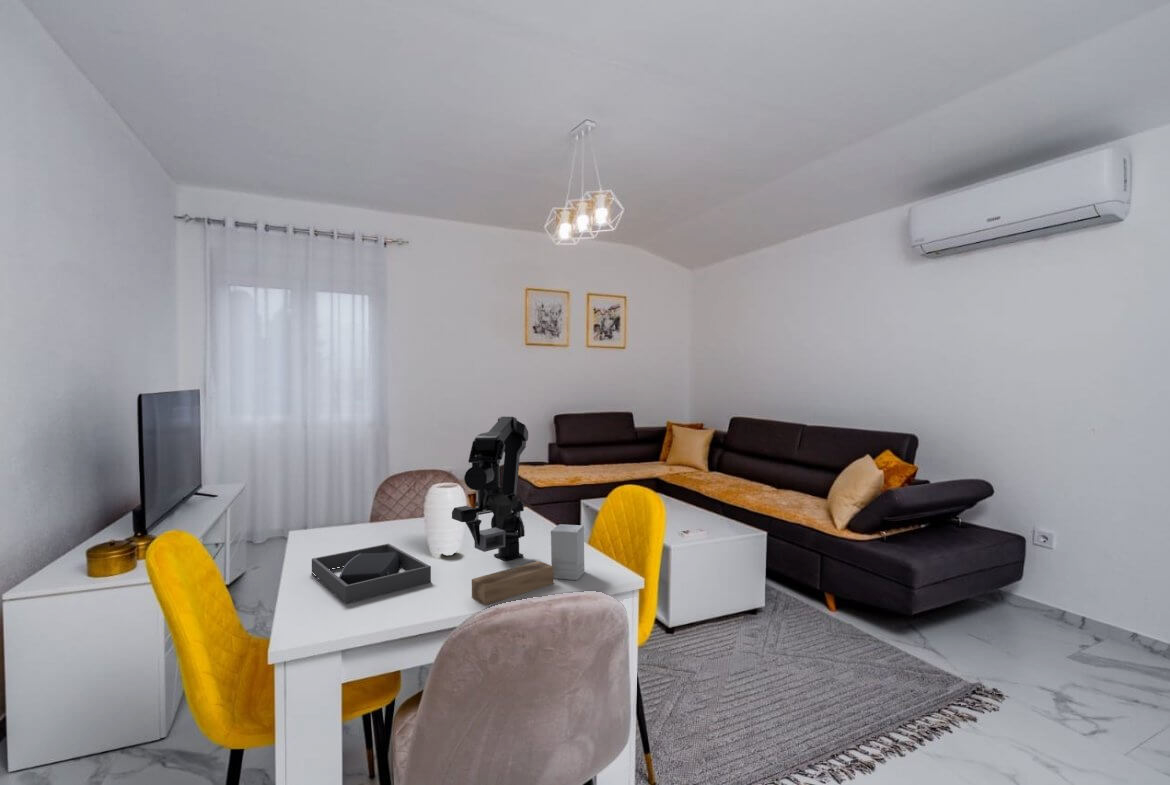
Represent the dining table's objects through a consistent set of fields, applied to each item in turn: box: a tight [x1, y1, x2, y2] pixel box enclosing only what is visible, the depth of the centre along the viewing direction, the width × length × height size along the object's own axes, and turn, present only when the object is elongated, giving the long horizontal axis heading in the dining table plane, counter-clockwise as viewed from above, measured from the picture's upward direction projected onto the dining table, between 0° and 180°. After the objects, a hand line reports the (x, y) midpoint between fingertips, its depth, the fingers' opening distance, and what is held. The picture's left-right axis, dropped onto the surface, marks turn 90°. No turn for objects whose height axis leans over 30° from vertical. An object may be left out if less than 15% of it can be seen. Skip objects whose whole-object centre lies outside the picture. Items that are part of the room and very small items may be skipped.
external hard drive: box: [338, 552, 400, 585], centre depth 140 cm, size 13×19×4 cm
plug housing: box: [474, 527, 505, 553], centre depth 139 cm, size 5×6×4 cm
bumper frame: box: [311, 543, 432, 605], centre depth 140 cm, size 28×21×4 cm
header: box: [471, 560, 554, 606], centre depth 132 cm, size 11×20×4 cm, turn 132°
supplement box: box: [550, 523, 586, 581], centre depth 141 cm, size 7×7×13 cm
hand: (489, 542), depth 139 cm, fingers closed on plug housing, 6 cm apart
